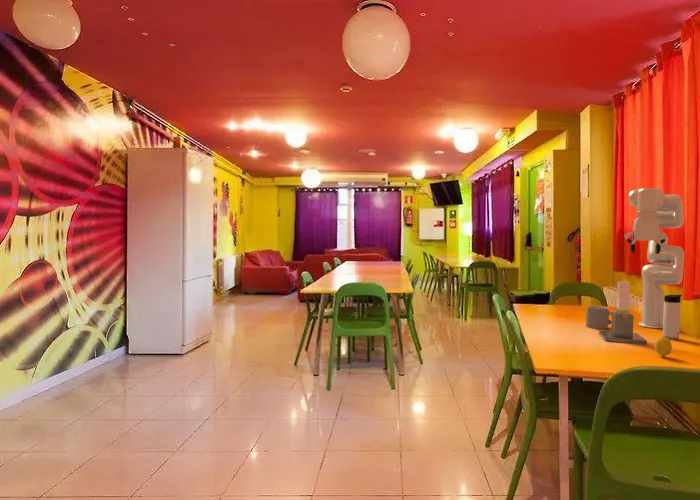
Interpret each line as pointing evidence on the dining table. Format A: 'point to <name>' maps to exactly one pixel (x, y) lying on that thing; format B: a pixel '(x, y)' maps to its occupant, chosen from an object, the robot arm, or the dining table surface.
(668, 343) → the lemon
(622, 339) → the post stand
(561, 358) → the dining table surface
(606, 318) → the coffee mug
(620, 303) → the steel post
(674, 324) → the travel mug
